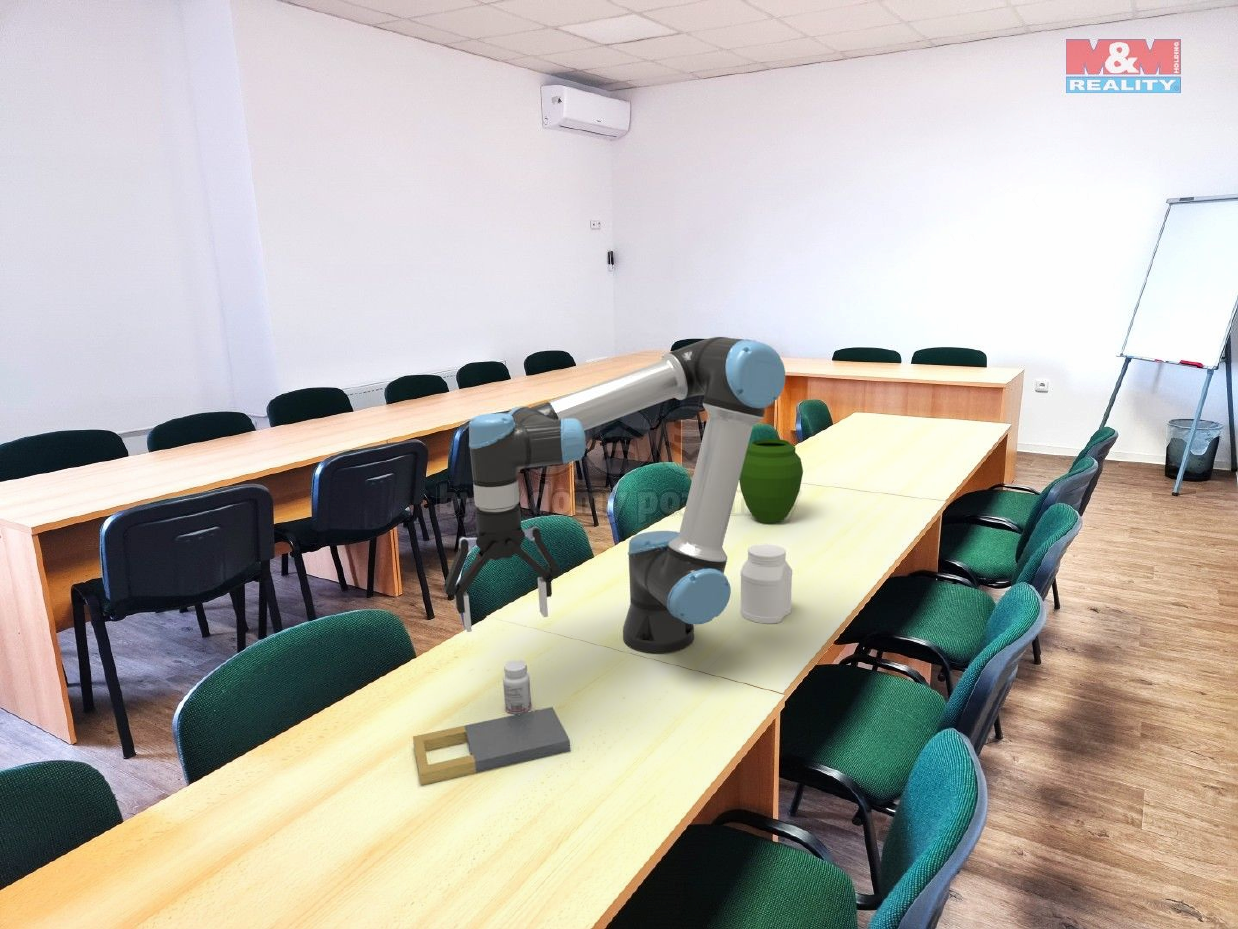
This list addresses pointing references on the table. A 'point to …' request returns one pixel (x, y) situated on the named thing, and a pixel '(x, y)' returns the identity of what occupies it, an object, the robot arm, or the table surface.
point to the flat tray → (492, 744)
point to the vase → (770, 479)
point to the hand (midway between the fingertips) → (506, 621)
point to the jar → (766, 584)
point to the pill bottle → (516, 687)
